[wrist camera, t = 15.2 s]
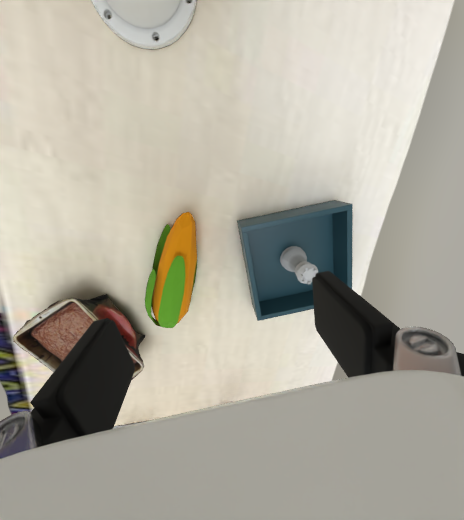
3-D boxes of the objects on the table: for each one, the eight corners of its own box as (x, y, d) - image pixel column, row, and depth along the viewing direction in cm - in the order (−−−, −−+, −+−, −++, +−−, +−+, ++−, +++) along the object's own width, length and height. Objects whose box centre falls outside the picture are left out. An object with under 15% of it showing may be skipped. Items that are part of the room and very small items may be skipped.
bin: (237, 220, 38) (240, 227, 33) (335, 200, 38) (352, 204, 33) (252, 305, 44) (257, 321, 39) (336, 287, 44) (351, 300, 39)
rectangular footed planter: (111, 271, 41) (71, 294, 31) (163, 349, 45) (141, 391, 35) (50, 304, 43) (-5, 334, 34) (104, 375, 47) (68, 421, 37)
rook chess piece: (276, 267, 41) (291, 288, 33) (282, 243, 39) (299, 260, 32) (300, 270, 41) (320, 291, 34) (307, 246, 40) (329, 263, 32)
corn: (136, 338, 35) (153, 209, 28) (145, 310, 42) (161, 201, 35) (185, 343, 37) (211, 222, 30) (186, 314, 44) (208, 211, 37)
